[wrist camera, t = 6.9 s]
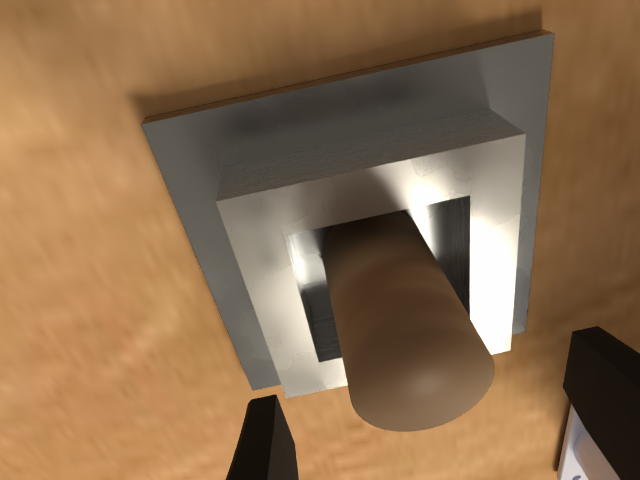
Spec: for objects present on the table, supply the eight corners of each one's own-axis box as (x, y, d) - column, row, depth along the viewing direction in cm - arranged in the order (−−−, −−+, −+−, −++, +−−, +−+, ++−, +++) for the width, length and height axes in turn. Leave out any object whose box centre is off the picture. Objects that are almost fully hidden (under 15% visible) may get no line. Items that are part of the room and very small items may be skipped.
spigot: (421, 198, 15) (501, 318, 10) (421, 281, 17) (489, 417, 12) (315, 216, 15) (342, 346, 10) (328, 298, 17) (356, 441, 12)
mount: (543, 29, 13) (604, 47, 11) (519, 322, 20) (553, 372, 18) (145, 117, 13) (121, 153, 11) (252, 379, 20) (251, 436, 18)
